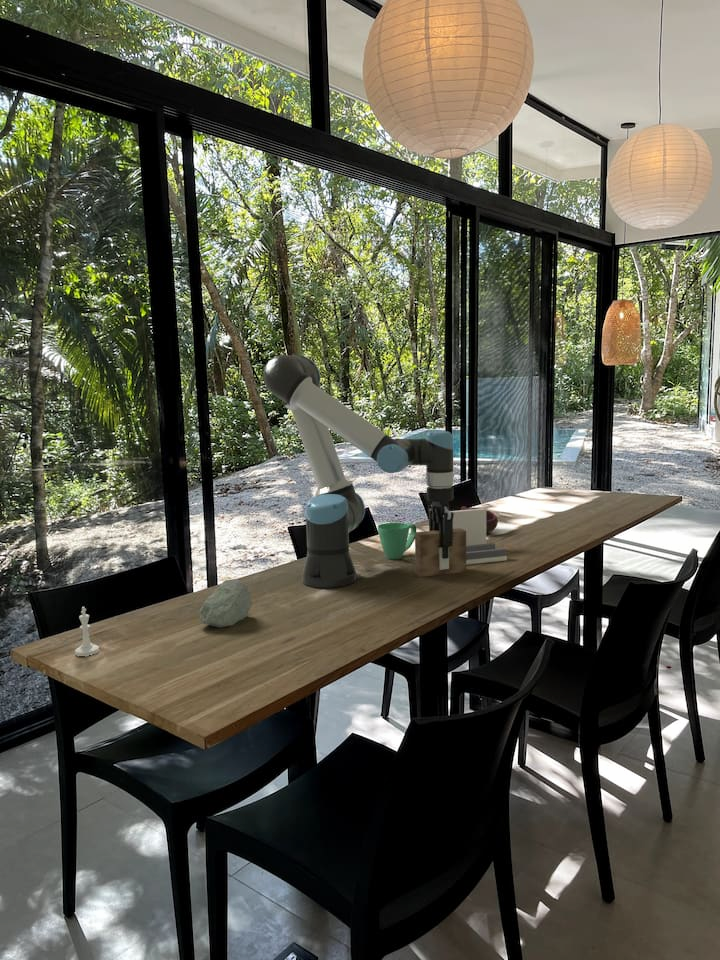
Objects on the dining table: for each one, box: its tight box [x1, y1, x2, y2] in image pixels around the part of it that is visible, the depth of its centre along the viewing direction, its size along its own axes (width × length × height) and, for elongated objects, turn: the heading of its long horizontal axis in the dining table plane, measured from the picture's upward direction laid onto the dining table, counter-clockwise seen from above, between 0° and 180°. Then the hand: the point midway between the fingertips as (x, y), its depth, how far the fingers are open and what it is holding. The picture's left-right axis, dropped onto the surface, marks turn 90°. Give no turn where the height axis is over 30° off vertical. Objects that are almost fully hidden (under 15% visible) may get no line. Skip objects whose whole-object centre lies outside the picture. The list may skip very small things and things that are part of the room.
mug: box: [377, 522, 417, 560], centre depth 223 cm, size 15×10×10 cm
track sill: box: [449, 508, 508, 566], centre depth 220 cm, size 17×16×13 cm
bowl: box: [460, 506, 499, 534], centre depth 253 cm, size 16×13×8 cm
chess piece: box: [74, 606, 100, 657], centre depth 151 cm, size 5×5×10 cm
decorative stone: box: [198, 578, 253, 629], centre depth 168 cm, size 13×11×10 cm
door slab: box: [414, 528, 467, 578], centre depth 204 cm, size 14×4×12 cm, turn 106°
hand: (440, 566), depth 204 cm, fingers closed on door slab, 4 cm apart
